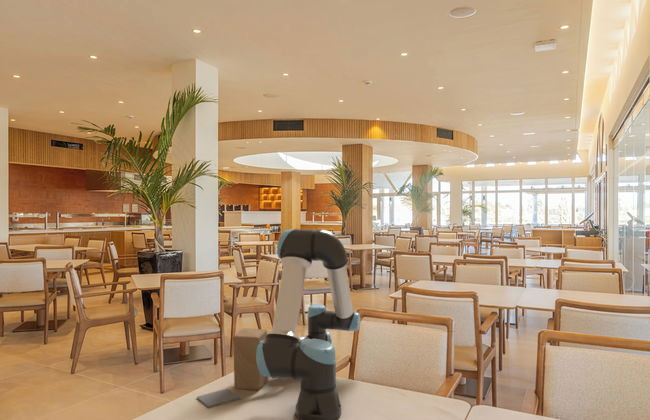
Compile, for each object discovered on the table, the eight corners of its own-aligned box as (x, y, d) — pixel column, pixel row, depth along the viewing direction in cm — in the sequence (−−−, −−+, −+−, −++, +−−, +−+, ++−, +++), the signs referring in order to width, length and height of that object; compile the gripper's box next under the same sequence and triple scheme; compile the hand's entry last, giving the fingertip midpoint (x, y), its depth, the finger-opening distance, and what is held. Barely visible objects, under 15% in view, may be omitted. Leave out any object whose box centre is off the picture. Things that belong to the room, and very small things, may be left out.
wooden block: (259, 390, 173) (258, 337, 172) (234, 388, 175) (232, 336, 174) (268, 379, 182) (267, 329, 181) (244, 377, 185) (243, 327, 184)
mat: (240, 398, 166) (240, 397, 166) (208, 408, 159) (208, 406, 159) (227, 389, 174) (227, 388, 174) (196, 398, 166) (196, 396, 166)
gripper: (316, 364, 182) (269, 377, 169) (281, 348, 202) (237, 359, 189) (316, 345, 182) (269, 357, 169) (281, 331, 202) (236, 340, 189)
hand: (252, 358), depth 179 cm, fingers closed on wooden block, 13 cm apart
